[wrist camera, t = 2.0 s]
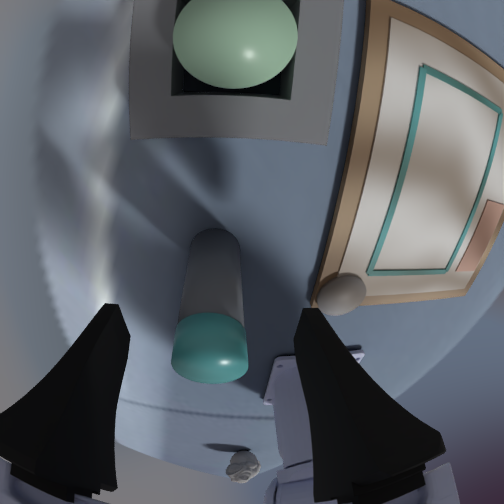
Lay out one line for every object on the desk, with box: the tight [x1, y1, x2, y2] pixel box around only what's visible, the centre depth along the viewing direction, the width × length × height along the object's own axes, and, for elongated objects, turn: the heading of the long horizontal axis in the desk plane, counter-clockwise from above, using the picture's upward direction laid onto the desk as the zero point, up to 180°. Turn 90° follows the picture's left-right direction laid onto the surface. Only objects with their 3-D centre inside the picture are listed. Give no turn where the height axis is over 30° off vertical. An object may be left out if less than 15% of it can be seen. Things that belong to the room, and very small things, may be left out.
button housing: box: [129, 0, 344, 146], centre depth 8 cm, size 7×7×2 cm
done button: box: [173, 0, 298, 89], centre depth 7 cm, size 3×3×3 cm
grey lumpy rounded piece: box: [226, 451, 261, 483], centre depth 39 cm, size 6×7×7 cm
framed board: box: [310, 0, 504, 316], centre depth 13 cm, size 18×15×1 cm
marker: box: [171, 229, 248, 384], centre depth 12 cm, size 3×3×7 cm
